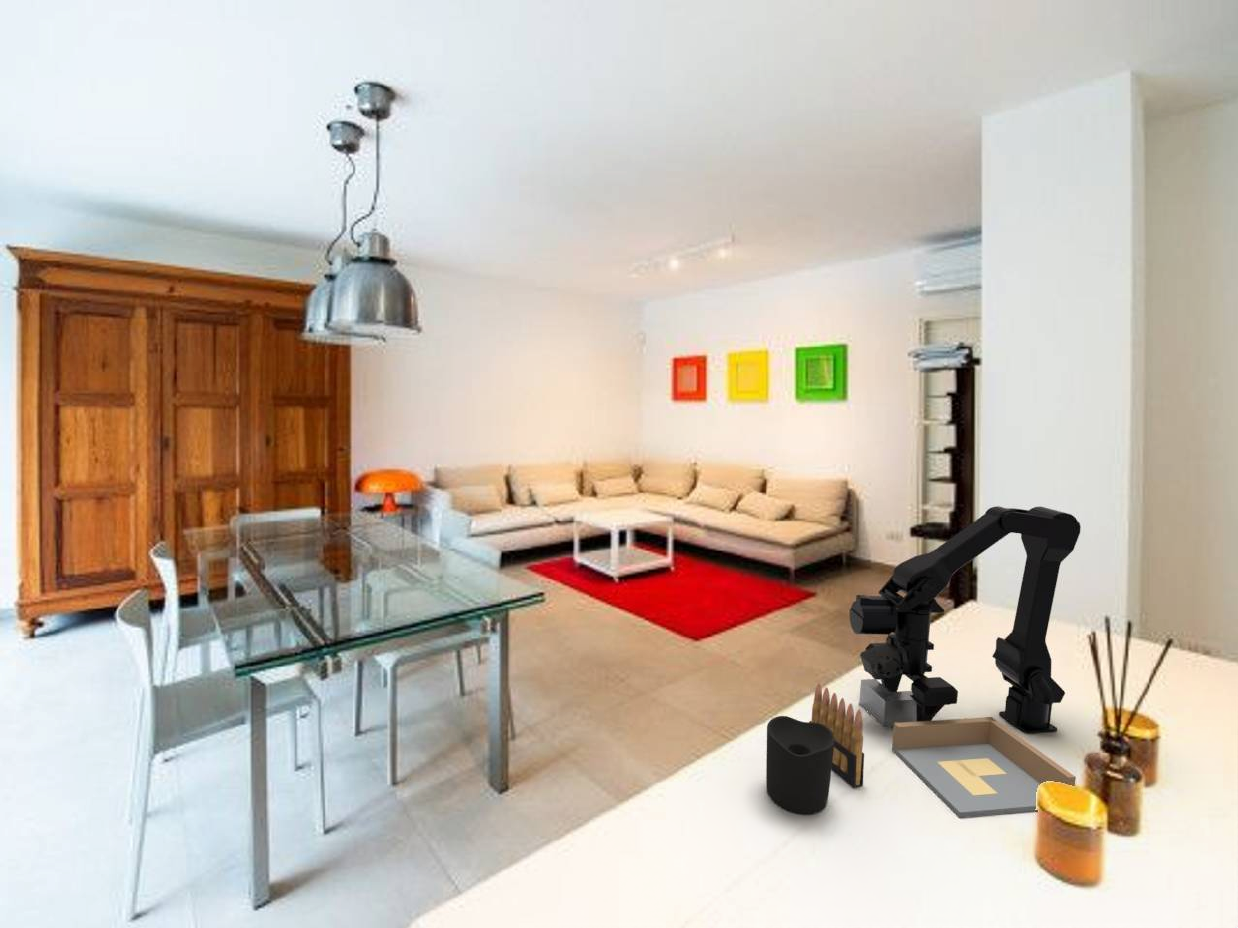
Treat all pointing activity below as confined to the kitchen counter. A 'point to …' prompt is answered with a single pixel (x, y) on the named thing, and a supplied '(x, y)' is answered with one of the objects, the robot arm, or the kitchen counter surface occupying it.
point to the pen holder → (799, 764)
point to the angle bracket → (886, 703)
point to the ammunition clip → (842, 735)
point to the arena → (976, 764)
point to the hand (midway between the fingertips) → (904, 715)
